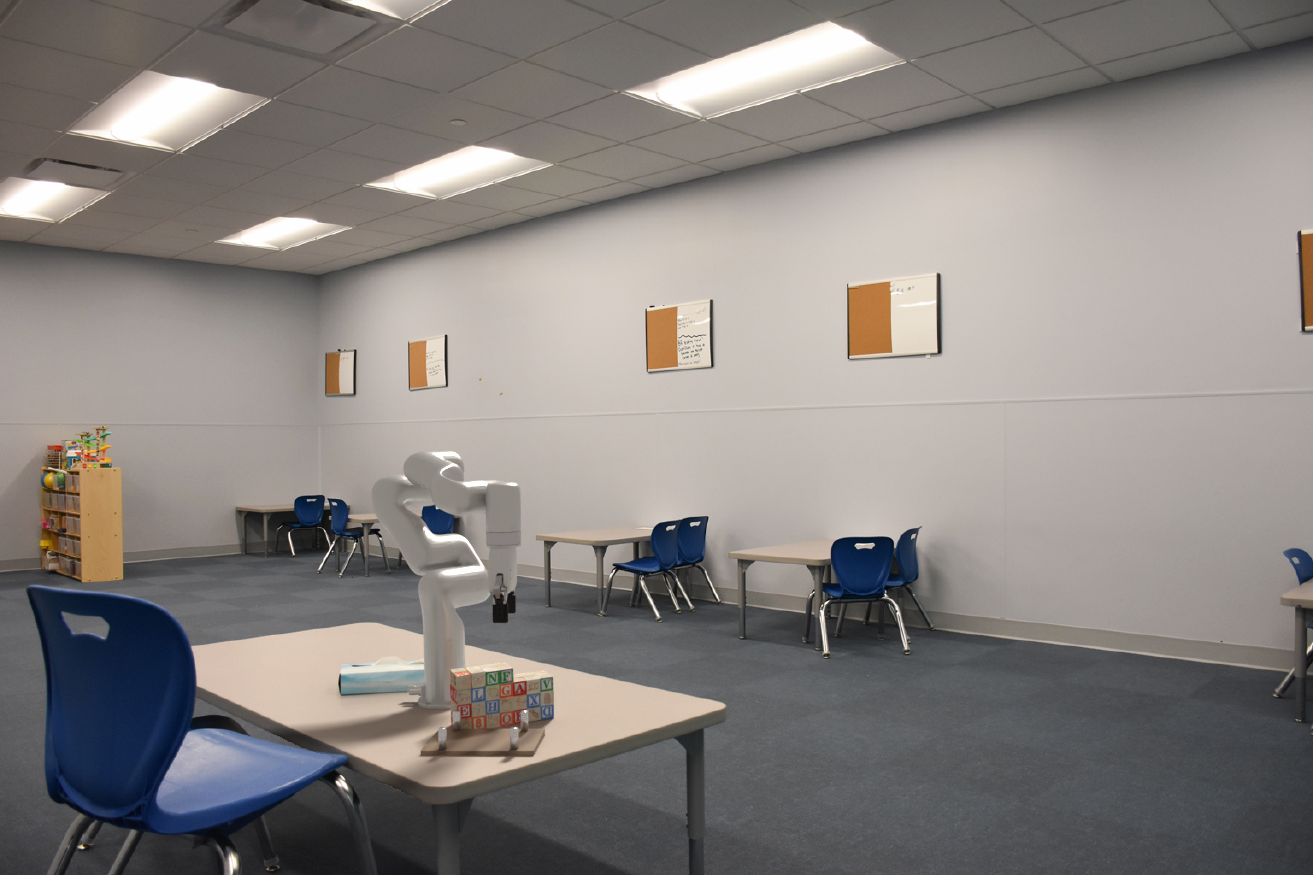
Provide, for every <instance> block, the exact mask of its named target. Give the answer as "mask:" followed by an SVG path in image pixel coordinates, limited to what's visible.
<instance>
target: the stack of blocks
mask: <svg viewBox="0 0 1313 875" xmlns="http://www.w3.org/2000/svg"><path fill="white" fill-rule="evenodd" d="M450 681H451V684H450V698H451V709H450V722H451V724H450V725H451V727H453V711H454V710H460V711H461V729H497V728H500V727H505V726H506V727H507V726H511V725H518V724H520V711H521V710H528V723H531V722H536V721H542V720H543V721H544V720H549V719H554V718H555V692H554V676H553V675H552V674H550V673H549V672H547V671H546V670H536V671H527V672H521V673H515V674H514V668H513V667H512V666H511V665H510V664H508V663H506V662H505V661H503V662H495V663H487V664H480V665H475V666H474V665H473V666H468V667H466V666H465V668H458V669H451V670H450Z"/></svg>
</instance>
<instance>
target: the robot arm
mask: <svg viewBox="0 0 1313 875" xmlns="http://www.w3.org/2000/svg"><path fill="white" fill-rule="evenodd" d="M402 471H403V473H401V474H400V473H399V474H398V473H397V474H390V475H386V476H383V477H381V478H379V479H378V480H376V482H374V484H373V485H372V488H371V494H370V495H371V505H372V508H373V512H374V514H375V516H376V518H377V520H378V521H379V523H380V524H381V526H382V527H383V528H384V529H385V531H386V532H387V533H388V534H389V535H390V536H391V537H392V539H393V541H394V542H395V544H396V546H397V548H398V550H399V552H400V553H401V555H402V557H403V558H404V560H405V562H406V564H407V565H408V567H409V568H410V570H411V571H412V572H413V573H414V574H415V575H417V576H421V578H420V579H419V582H418V585H417V593H418V598H419V599H418V600H419V604H420V608H421V615H422V627H423V628H422V635H423V637H422V638H423V678H424V679H423V682H424V683H421V684H420V685H417V684H407V686H406V692H407V694H408V695H409V696H419V697H418V699H417V705H418V707H420V708H421V709H427V710H428V709H429V710H451V698H450V684H451V681H450V670H451V669H458V668H466V637H465V636H466V634H465V632H466V631H465V630H466V629H465V624H464V621H463V620H462V618H461V617H460V615H459V614H458V612H457V611H456V609H458V608H462V607H466V606H473V605H477V604H481V603H483V602H485V601H487V599H489V598H490V596H491V594H493V596H492V623H493V624H507V623H509V614H515V613H516V612H517V598H516V597H517V595H516V587H517V584H518V556H517V554H518V553H517V552H518V550H517V548H518V547H521V546H522V513H521V512H522V511H521V510H522V509H521V508H522V507H521V506H522V505H521V504H522V503H521V497H522V496H521V487H520V484H518V483H516V482H511V481H507V482H506V481H502V480H498V479H484V480H483V479H482V480H481V479H479V480H477V479H476V480H465V463H464V461H463V459H462V457H461V456H460V455H459V454H458V453H456V452H455V451H451V450H430V451H429V450H428V451H427V450H426V451H425V450H424V451H423V450H422V451H418V452H414V453H412V454H410V455H409V456H407V458H406V459H405V461H404V463H403V469H402ZM431 506H435V507H436V508H438V509H440V510H441V511H443V512H445V513H447V514H450V515H452V516H455V517H456V516H457V517H461V516H462V517H463V516H472V515H473V516H474V515H485V541H486V542H485V543H486V544H485V546H486V548H489V552H488V553H489V554H488V563H487V564H488V565H487V566H488V567H487V568H488V569H487V568H486V566H485V565H484V563H483V562H482V560H481V558H480V556H478V554H477V552H476V550H475V549H474V547H473V545H472V544H471V543H470V541H469V539H467V538H466V537H464V536H463V535H462V534H458V533H445V534H436V533H433V532H432V531H431V530H430V528H429V527H428V525H427V523H426V522H425V521H424V520H423V518H421V517H420V516H419V515H418V514H416V513H414V512H413V511H411V510H409V509H410V508H418V507H431ZM408 508H409V509H408Z"/></svg>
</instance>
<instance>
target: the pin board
mask: <svg viewBox="0 0 1313 875" xmlns="http://www.w3.org/2000/svg"><path fill="white" fill-rule="evenodd" d="M519 724H520V726H519V727H520V728H519V727H518V726H511V727H510V728H489V729H461V711H460V710H454V711H453V726H452V728H448V727H447V726H440V727H438V729H437V731H436V732H435V733H434V735H433V736H432V737H431V738H430V739H429V740H428V741H427V743H426V744H425V745H424V746H423V747H422V749H420V756H478V757H479V756H480V757H481V756H492V757H494V756H497V757H498V756H501V757H502V756H505V757H507V756H510V757H514V756H515V757H516V756H527V757H529V756H531V757H534V756H535V755H536V754H537V752H538V749H539V748H540V745H541V744H542V742H543V740H544V738H545V736H546V728H529V722H528V710H521V711H520V723H519Z"/></svg>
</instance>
